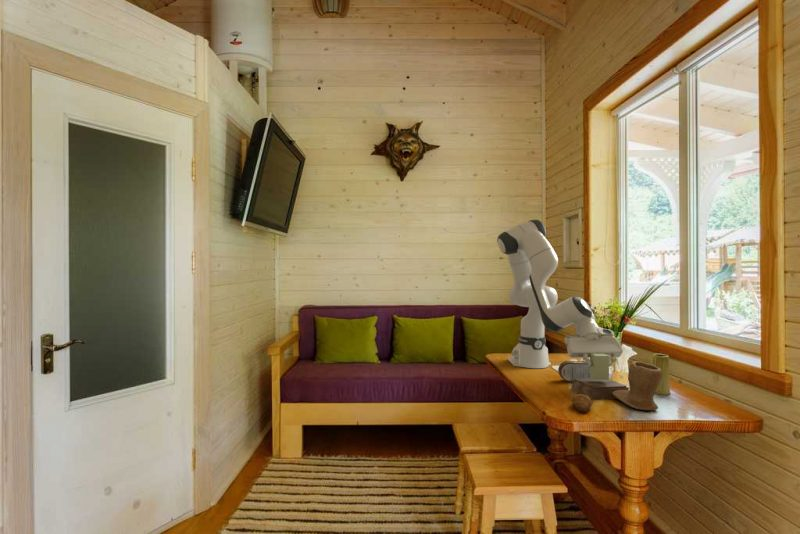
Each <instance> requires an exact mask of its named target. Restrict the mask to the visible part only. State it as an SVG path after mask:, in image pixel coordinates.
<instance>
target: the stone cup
mask: <svg viewBox="0 0 800 534" xmlns="http://www.w3.org/2000/svg"><path fill="white" fill-rule="evenodd" d="M627 373H628V374H627V375H628V376H627V377H628V386H629V387H628V388H629V391H628V390H617V391H614V392H613V393H612V394H613V395H614V396H615V397H617V398H616V399H618V400H619V401H621V402H622V403H624V404H625V405H627V406H628V407H631V408H633V409H636V410H640V411H642V410H643V411H656V410H658V409H659V406H658V404H656V403H655V401H654V396H655V394H656V393H655V391H656V389H657V387H658V385H659V383H660V381H661V378H662V371H661V369H660V368H658V367H656V366H653V364H650V363H646V362H642V361H638V360H637V361H635V360H634V361H632V362H631V363H630V364H629V367H628V372H627Z"/></svg>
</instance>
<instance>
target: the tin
mask: <svg viewBox="0 0 800 534" xmlns="http://www.w3.org/2000/svg"><path fill="white" fill-rule="evenodd" d="M557 372H558V375H559V377H561V379H563V380H564V381H565V382H569V383H570V382H571V383H572V380H574V378H592V377H590V366H588V363H587V362H586V361H585V360H583V361H580V360H565V361H563V362H561V363H560V364H559V366H558V369H557Z"/></svg>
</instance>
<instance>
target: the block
mask: <svg viewBox="0 0 800 534" xmlns="http://www.w3.org/2000/svg"><path fill="white" fill-rule="evenodd" d="M589 359H590V360H593V363H594V365H593V366H590V377H592V378H593V379H595V380H609V379H610V367H609V356H608V355H606V354H604V353H591V354H590V357H589Z"/></svg>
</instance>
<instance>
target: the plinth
mask: <svg viewBox="0 0 800 534" xmlns="http://www.w3.org/2000/svg"><path fill="white" fill-rule="evenodd" d="M571 389H573V390H574V391H577V392H579V394H584V395H586V396H588V397H589V398H590V399H592V400H602V399H603V400H604V399H618V398H617V397H615V396H614V395H613V394H612V393H613V392H614V391H617V390H628V391H629V387H627V385H625V384H622V383H620V382H619V381H614V379H613V380H612V379H610V378H609V380H595V379H593V378H574V380H572V382H571Z"/></svg>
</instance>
